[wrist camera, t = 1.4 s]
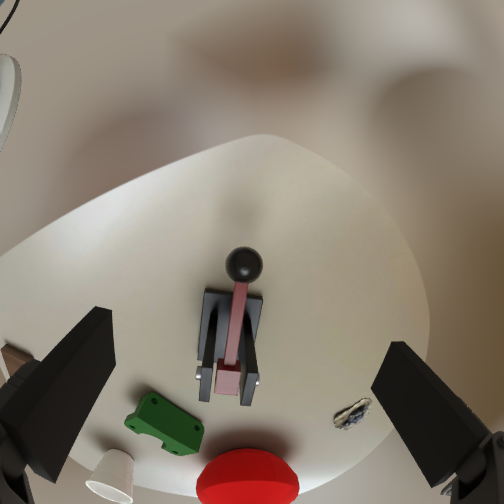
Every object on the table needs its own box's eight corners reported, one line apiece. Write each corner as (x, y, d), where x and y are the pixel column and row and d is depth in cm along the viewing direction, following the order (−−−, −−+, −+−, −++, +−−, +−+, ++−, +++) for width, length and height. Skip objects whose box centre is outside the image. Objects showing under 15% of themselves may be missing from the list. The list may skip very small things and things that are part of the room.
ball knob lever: (228, 242, 25) (228, 245, 22) (263, 248, 25) (268, 251, 22) (210, 378, 26) (208, 394, 23) (241, 381, 26) (242, 398, 23)
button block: (6, 343, 33) (-5, 353, 29) (33, 356, 34) (22, 368, 30) (23, 392, 36) (14, 402, 32) (49, 405, 37) (42, 417, 33)
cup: (132, 471, 42) (123, 506, 32) (94, 451, 40) (80, 485, 30) (149, 459, 41) (140, 500, 30) (107, 437, 39) (91, 476, 28)
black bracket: (205, 288, 33) (192, 338, 21) (262, 295, 33) (276, 348, 22) (198, 355, 35) (187, 417, 23) (249, 361, 36) (255, 424, 24)
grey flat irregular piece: (325, 422, 40) (328, 429, 38) (357, 393, 39) (361, 400, 37) (349, 429, 41) (352, 436, 39) (379, 402, 40) (383, 408, 38)
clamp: (150, 390, 41) (114, 414, 33) (167, 380, 39) (129, 406, 31) (191, 441, 39) (162, 470, 31) (212, 436, 37) (182, 469, 29)
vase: (205, 479, 43) (202, 549, 25) (191, 435, 39) (181, 526, 20) (288, 476, 44) (302, 544, 26) (296, 430, 40) (319, 519, 21)
